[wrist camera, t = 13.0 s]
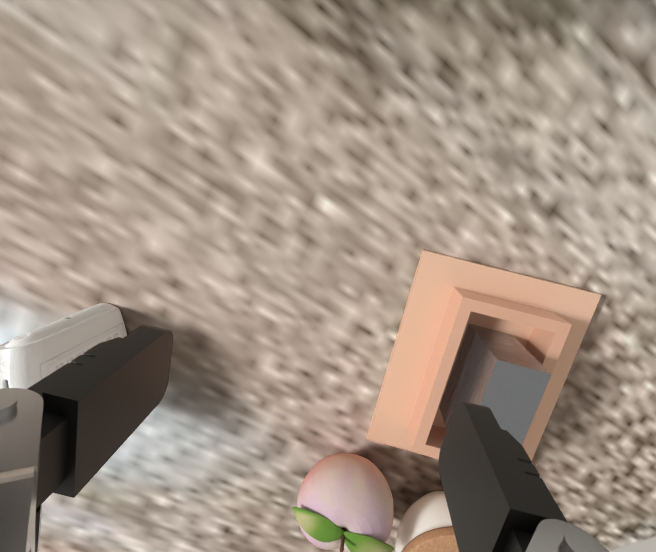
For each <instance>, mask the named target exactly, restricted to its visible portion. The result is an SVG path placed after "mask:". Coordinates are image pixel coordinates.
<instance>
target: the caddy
mask: <svg viewBox="0 0 656 552" xmlns="http://www.w3.org/2000/svg"><path fill="white" fill-rule="evenodd" d="M600 297H601V295H600V294H598V293H595V292H591V291H587V290H583V289H579V288H575V287H571V286H567V285H563V284H559V283H555V282H551V281H547V280H543V279H539V278H535V277H531V276H527V275H523V274H519V273H515V272H511V271H507V270H503V269H499V268H495V267H491V266H487V265H483V264H479V263H475V262H471V261H467V260H463V259H459V258H455V257H451V256H447V255H443V254H439V253H435V252H431V251H427V250H423V249H422V253H421V256H420V259H419V263H418V266H417V269H416V273H415V276H414V279H413V283H412V286H411V289H410V293H409V296H408V299H407V303H406V306H405V309H404V313H403V316H402V319H401V323H400V326H399V329H398V333H397V336H396V340H395V343H394V346H393V350H392V353H391V356H390V360H389V363H388V366H387V370H386V373H385V376H384V380H383V383H382V386H381V390H380V393H379V396H378V400H377V403H376V406H375V410H374V413H373V416H372V420H371V423H370V427H369V430H368V433H367V440H371V441H375V442H378V443H382V444H386V445H389V446H393V447H396V448H400V449H404V450H407V451H411V452H415V453H418V454H422V455H426V456H429V457H433V458H437V459H439V454H440V449H441V446H442V443H443V440H444V437H445V434H446V431H447V429H446V426H445V423H444V420H443V417H442V414H441V411H440V408H439V407H440V404H441V402H442V399H443V396H444V393H445V390H446V387H447V385H448V382H449V379H450V376H451V373H452V370H453V368H454V365H455V362H456V359H457V356H458V354H459V351H460V348H461V345H462V342H463V339H464V337H465V334H466V331H467V328H468V325H469V323H470V324H474V325H477V326H481V327H485V328H489V329H492V330H496V331H500V332H504V333H507V334H511V335H513V336H514V337H515V338H516V339H517V340H518V341H519V342H520V343H521V344H522V345H523V346H524V347H525V348H526V349H527V350H528V351H529V352H530V353H531V354H532V355H533V356H534V357H535V358H536V359H537V360H538V361H539V362H540V363H541V364H542V365H543V366H544V367H545V368H546V369H547V370H548V371H549V372H550V373H551V374H552V375H551V377H550V380H549V382H548V385H547V387H546V389H545V392H544V394H543V396H542V399H541V401H540V404H539V406H538V408H537V411H536V413H535V415H534V418H533V420H532V423H531V425H530V427H529V430H528V432H527V434H526V437H525V439H524V442H523V444H522V446H523V447H524V449H525V451H526V453H527V454H528V456H529V458H530V459H531V461H532V459H533V457H534V454H535V452H536V449H537V447H538V445H539V442H540V440H541V438H542V435H543V433H544V430H545V428H546V426H547V423H548V421H549V419H550V416H551V414H552V411H553V409H554V407H555V404H556V402H557V400H558V397H559V395H560V392H561V390H562V388H563V385H564V383H565V381H566V378H567V376H568V373H569V371H570V369H571V366H572V364H573V361H574V359H575V357H576V354H577V352H578V350H579V347H580V345H581V342H582V340H583V338H584V335H585V333H586V331H587V328H588V326H589V323H590V321H591V319H592V316H593V314H594V312H595V309H596V307H597V304H598V302H599V300H600Z"/></svg>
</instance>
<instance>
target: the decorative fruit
mask: <svg viewBox="0 0 656 552" xmlns="http://www.w3.org/2000/svg"><path fill="white" fill-rule="evenodd" d="M292 509H293V511H294V514H295V517H296V519H297V521H298V523H299V525H300V528H301V530H302V532H303V534H304V535H305V536H306V538H307V539H308V540H309V541H310V542H311V543H313V544H314V545H315V546H317V547H318V548H321V549H325V550H330V549H336V548H340V552H343V551H345V552H392V551H393V550H394V548H393V547H392V546H391V545H389V544H386V543H385V542H386V540H387V539H388V537H389V535H390V532H391V529H392V524H393V513H394V511H393V498H392V493H391V490H390V487H389V485H388V483H387V481H386V479H385V477H384V475H383V474H382V473H381V471H380V470H379V469H378V468H377V467H376V466H375V465H374V464H373V463H372V462H371V461H369V460H368V459H366V458H364V457H362V456H359V455H355V454H350V453H337V454H333V455H330V456H328V457H326V458H324V459H322V460H321V461H319V462H318V463H317V464H316V465H315V466H314V467H313V468H312V469H311V470H310V472H309V473H308V474H307V476H306V477H305V479H304V481H303V483H302V485H301V488H300V491H299V494H298V499H297V507H293V508H292Z"/></svg>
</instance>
